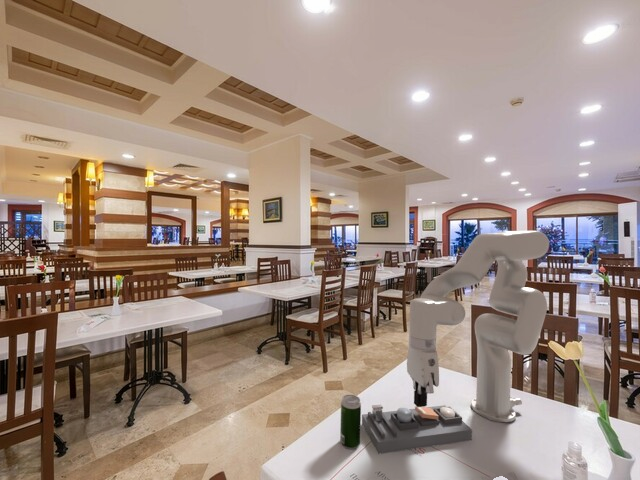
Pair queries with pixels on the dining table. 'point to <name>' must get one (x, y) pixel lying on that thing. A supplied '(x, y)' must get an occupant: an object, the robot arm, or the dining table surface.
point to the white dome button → (447, 412)
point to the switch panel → (414, 431)
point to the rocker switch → (426, 412)
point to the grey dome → (404, 415)
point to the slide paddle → (377, 412)
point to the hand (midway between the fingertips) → (420, 405)
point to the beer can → (350, 422)
